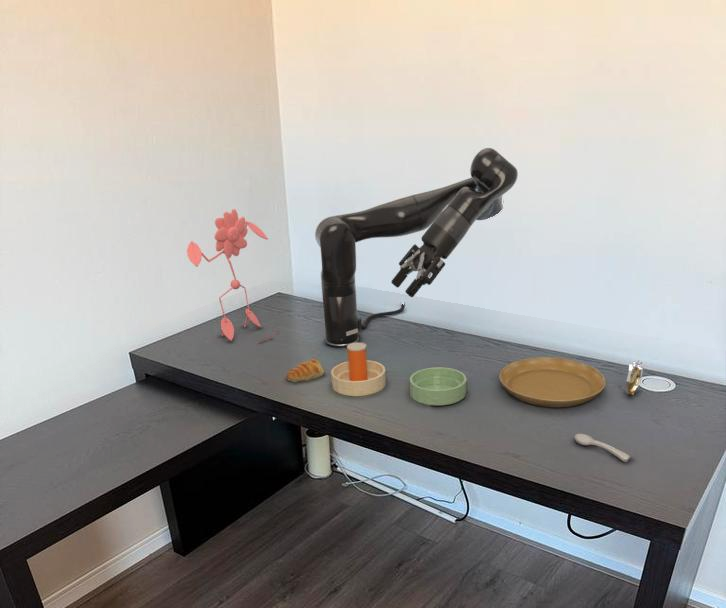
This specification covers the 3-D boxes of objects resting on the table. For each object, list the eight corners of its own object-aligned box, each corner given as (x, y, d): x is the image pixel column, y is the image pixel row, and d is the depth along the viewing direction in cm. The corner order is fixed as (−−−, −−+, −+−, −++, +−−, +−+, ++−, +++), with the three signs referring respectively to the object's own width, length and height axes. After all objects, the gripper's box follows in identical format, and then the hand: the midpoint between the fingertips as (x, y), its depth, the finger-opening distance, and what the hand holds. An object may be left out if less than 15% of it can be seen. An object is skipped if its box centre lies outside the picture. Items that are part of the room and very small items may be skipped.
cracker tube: (353, 379, 171) (351, 341, 165) (370, 381, 169) (368, 343, 164) (346, 387, 167) (344, 348, 162) (364, 389, 166) (362, 350, 160)
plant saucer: (622, 385, 161) (624, 372, 159) (571, 423, 147) (573, 409, 145) (532, 361, 176) (533, 349, 174) (478, 394, 161) (479, 381, 159)
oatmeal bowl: (343, 373, 176) (342, 357, 173) (392, 378, 171) (392, 362, 169) (324, 394, 165) (322, 378, 163) (375, 400, 161) (374, 384, 159)
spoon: (578, 437, 142) (580, 428, 140) (630, 461, 134) (633, 452, 133) (570, 442, 140) (572, 434, 139) (622, 466, 133) (624, 458, 132)
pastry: (296, 387, 170) (294, 372, 168) (281, 379, 174) (279, 365, 172) (326, 376, 174) (325, 362, 172) (311, 368, 179) (310, 355, 177)
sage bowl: (418, 380, 169) (418, 364, 167) (471, 386, 165) (471, 370, 163) (403, 403, 159) (402, 387, 157) (458, 410, 155) (459, 393, 153)
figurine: (198, 344, 198) (173, 218, 179) (262, 318, 214) (246, 200, 195) (233, 355, 189) (211, 224, 170) (297, 327, 205) (284, 204, 186)
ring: (631, 401, 154) (637, 368, 150) (617, 397, 156) (623, 365, 152) (644, 390, 158) (650, 358, 154) (631, 387, 160) (637, 355, 156)
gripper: (470, 249, 153) (424, 308, 156) (443, 236, 164) (400, 291, 167) (449, 228, 148) (402, 288, 152) (422, 216, 160) (379, 272, 163)
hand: (401, 289), depth 159 cm, fingers open, 8 cm apart
